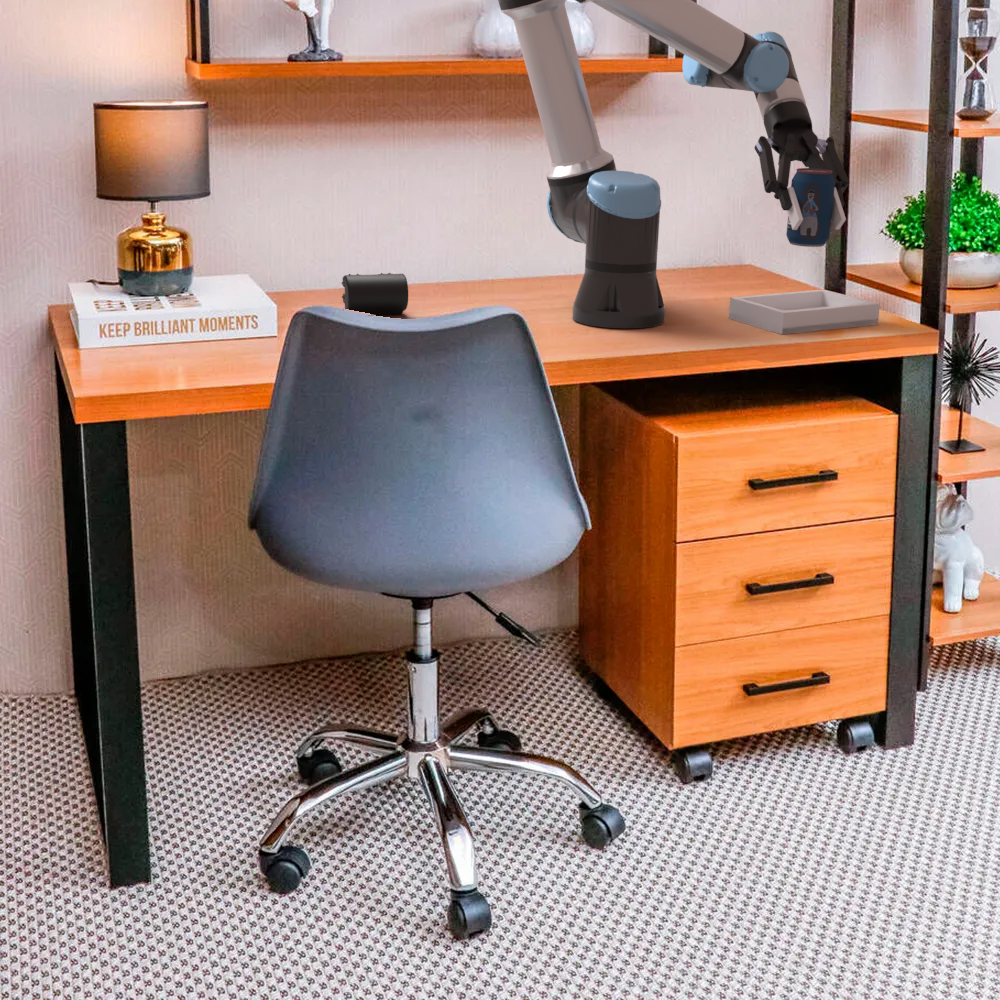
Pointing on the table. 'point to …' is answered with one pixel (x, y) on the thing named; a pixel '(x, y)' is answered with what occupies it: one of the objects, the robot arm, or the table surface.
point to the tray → (803, 311)
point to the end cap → (376, 293)
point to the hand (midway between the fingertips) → (819, 224)
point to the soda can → (812, 207)
